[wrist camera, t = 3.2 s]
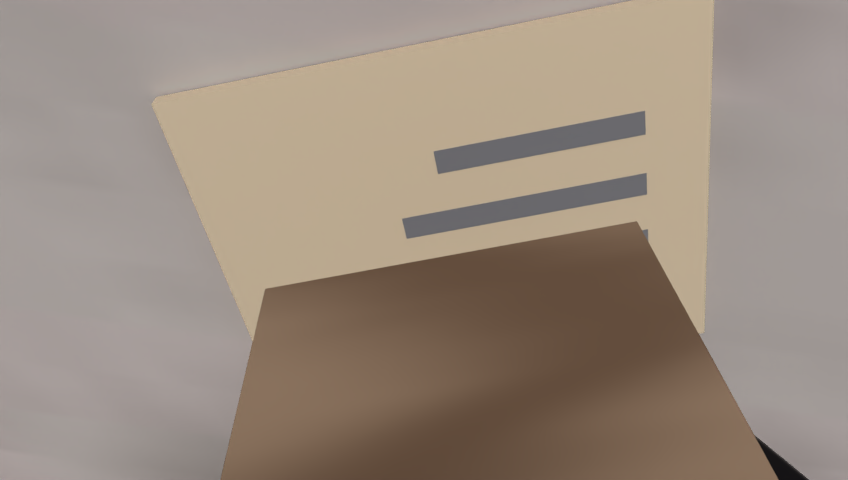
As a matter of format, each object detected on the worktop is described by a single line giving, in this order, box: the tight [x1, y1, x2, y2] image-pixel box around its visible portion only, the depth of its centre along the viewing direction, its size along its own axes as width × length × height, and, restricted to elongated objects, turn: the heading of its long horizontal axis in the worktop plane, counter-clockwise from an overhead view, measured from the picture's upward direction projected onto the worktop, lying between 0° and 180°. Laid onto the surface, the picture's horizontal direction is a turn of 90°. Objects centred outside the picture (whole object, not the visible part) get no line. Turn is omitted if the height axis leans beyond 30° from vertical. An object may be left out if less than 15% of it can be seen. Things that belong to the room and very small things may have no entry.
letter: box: [151, 0, 714, 341], centre depth 13 cm, size 9×7×1 cm
